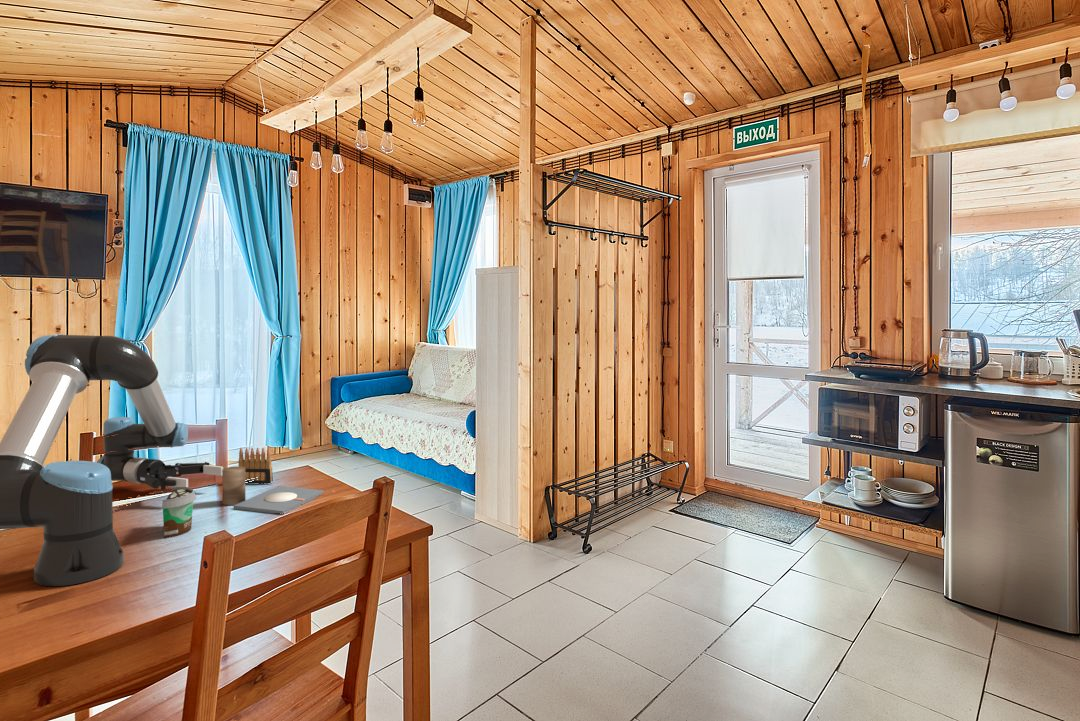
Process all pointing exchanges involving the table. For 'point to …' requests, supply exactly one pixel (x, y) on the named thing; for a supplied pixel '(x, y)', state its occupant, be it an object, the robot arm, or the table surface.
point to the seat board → (278, 499)
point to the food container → (178, 511)
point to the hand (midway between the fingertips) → (205, 477)
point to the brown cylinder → (233, 485)
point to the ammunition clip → (256, 466)
